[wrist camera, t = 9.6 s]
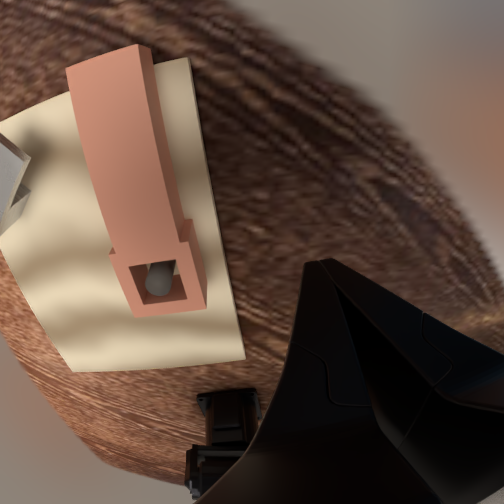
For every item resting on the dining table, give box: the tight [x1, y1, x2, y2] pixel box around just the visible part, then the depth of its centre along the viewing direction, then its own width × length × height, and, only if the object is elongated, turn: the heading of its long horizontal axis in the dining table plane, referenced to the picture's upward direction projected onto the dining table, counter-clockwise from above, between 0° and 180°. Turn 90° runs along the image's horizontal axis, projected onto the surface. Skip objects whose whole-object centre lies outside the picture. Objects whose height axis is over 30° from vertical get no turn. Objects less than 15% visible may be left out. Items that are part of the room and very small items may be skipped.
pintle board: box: [0, 57, 246, 372], centre depth 20 cm, size 24×18×4 cm
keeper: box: [0, 133, 31, 236], centre depth 15 cm, size 3×7×4 cm, turn 137°
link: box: [66, 44, 208, 318], centre depth 17 cm, size 16×5×3 cm, turn 7°
